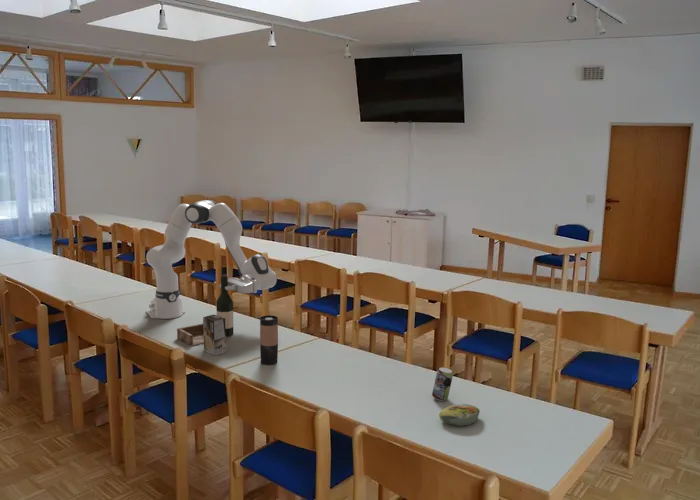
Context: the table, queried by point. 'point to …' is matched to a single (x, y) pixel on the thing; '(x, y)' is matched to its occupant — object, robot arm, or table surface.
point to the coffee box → (214, 334)
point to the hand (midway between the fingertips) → (222, 287)
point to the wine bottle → (225, 306)
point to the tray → (191, 335)
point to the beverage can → (442, 384)
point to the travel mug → (269, 339)
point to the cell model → (459, 414)
